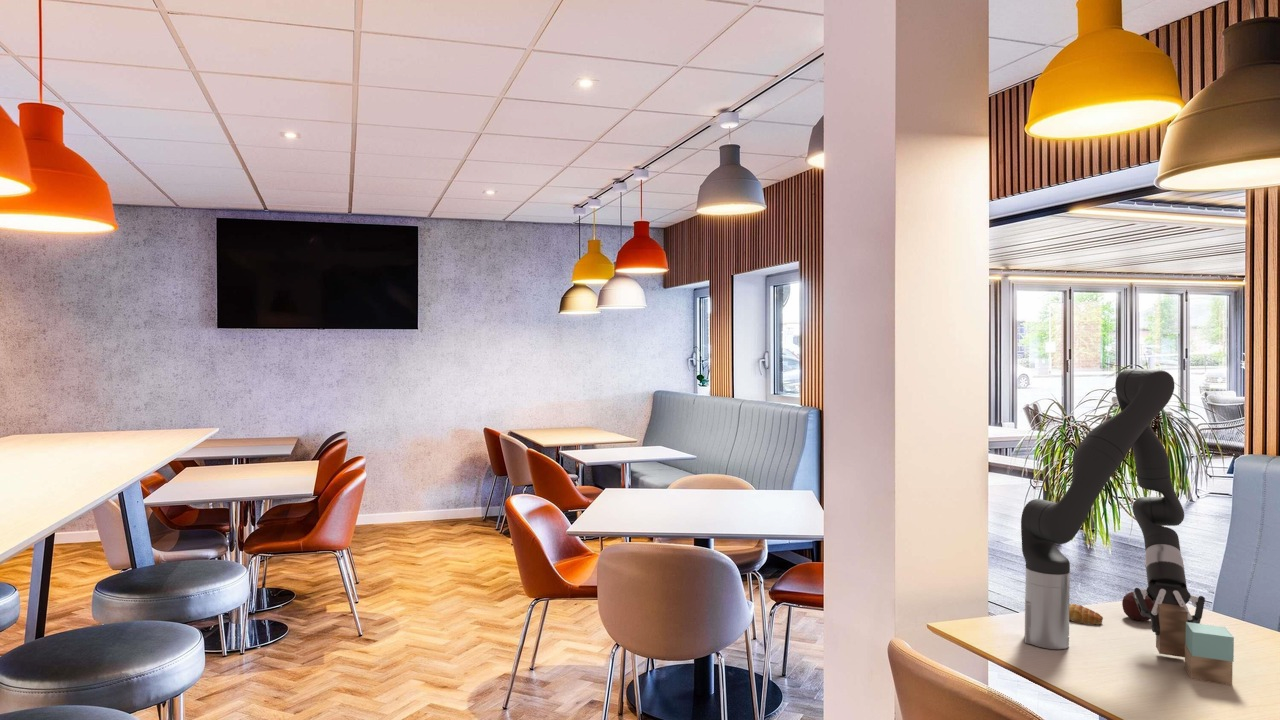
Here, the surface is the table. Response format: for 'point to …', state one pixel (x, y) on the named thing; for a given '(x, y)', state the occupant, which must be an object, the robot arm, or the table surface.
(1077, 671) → the table surface
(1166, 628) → the post
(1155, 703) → the table surface
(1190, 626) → the tower top
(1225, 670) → the tower base
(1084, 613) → the pastry
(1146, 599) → the potato
